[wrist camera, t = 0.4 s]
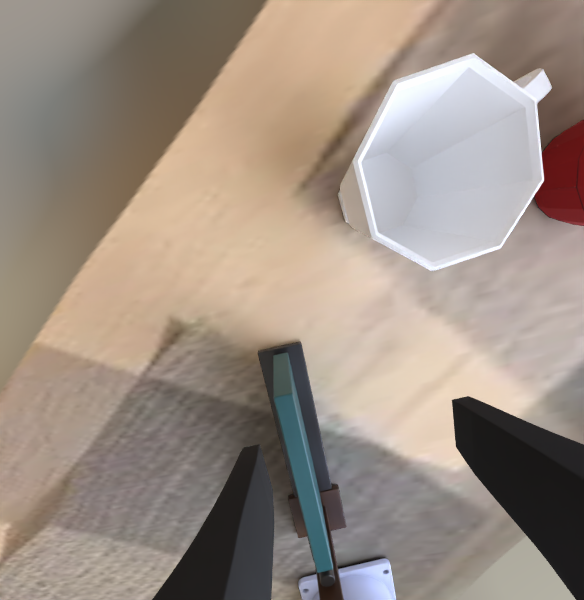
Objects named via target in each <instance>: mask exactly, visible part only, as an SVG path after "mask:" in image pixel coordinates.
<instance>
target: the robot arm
mask: <svg viewBox="0 0 584 600" xmlns="http://www.w3.org/2000/svg"><path fill="white" fill-rule="evenodd" d="M452 405H453V417H454V429H455V440H456V447H457V449H458V450H459V452H460V453H461V455H462V456H463V458H464V459H465V461H466V462H467V464H468V465H469V467H470V468H471V469H472V471H473V472H474V474H475V475H476V476H477V478H478V479H479V480H480V481H481V482H482V484H483V485H484V486H485V487H486V488H487V489H488V491H489V492H490V493H491V494H492V495H493V497H494V498H495V499H496V500H497V501H498V502H499V504H500V505H501V506H502V507H503V508H504V509H505V511H506V512H507V513H508V514H509V515H510V516H511V518H512V519H513V520H514V521H515V522H516V523H517V525H518V526H519V527H520V528H521V529H522V531H523V532H524V533H525V534H526V535H527V536H528V538H529V539H530V540H531V541H532V542H533V543H534V545H535V546H536V547H537V548H538V550H539V551H540V552H541V553H542V555H543V556H544V557H545V558H546V559H547V561H548V562H549V564H550V565H551V566H552V567H553V569H554V570H555V572H556V573H557V574H558V576H559V577H560V578H561V580H562V581H563V582H564V584H565V585H566V587H567V588H568V589H569V591H570V592H571V593H572V595H573V596H574V597H575V599H576V600H584V445H583V444H581V443H578V442H575V441H573V440H570V439H568V438H565V437H563V436H560V435H557V434H555V433H553V432H550V431H548V430H545V429H543V428H540V427H538V426H536V425H533V424H531V423H529V422H526V421H524V420H522V419H519V418H517V417H515V416H513V415H510V414H508V413H506V412H504V411H501V410H499V409H497V408H495V407H492V406H490V405H488V404H486V403H483V402H481V401H479V400H476V399H474V398H471V397H469V396H467V397H463V398H459V399H454V400H452ZM273 542H274V506H273V490H272V486H271V482H270V479H269V475H268V472H267V468H266V465H265V461H264V457H263V454H262V450H261V447H260V444H259V445H254V446H250V447H246V448H243V449H242V451H241V453H240V455H239V457H238V459H237V461H236V463H235V466H234V468H233V470H232V472H231V474H230V476H229V478H228V480H227V482H226V484H225V486H224V488H223V490H222V492H221V493H220V495H219V497H218V499H217V501H216V503H215V505H214V507H213V508H212V510H211V512H210V514H209V515H208V517H207V519H206V520H205V522H204V524H203V526H202V527H201V529H200V531H199V532H198V534H197V536H196V537H195V539H194V540H193V542H192V544H191V545H190V547H189V548H188V550H187V551H186V553H185V554H184V556H183V557H182V559H181V560H180V562H179V563H178V565H177V566H176V568H175V569H174V571H173V572H172V573H171V575H170V576H169V577H168V579H167V580H166V582H165V583H164V584H163V586H162V587H161V588H160V590H159V591H158V593H157V594H156V595H155V597H154V598H153V599H152V600H271V589H272V566H273ZM338 571H339V576H340V581H341V586H342V592H343V597H344V600H396V597H395V590H394V584H393V578H392V572H391V566H390V563H389V561H388V560H387V559H379V560H375V561H371V562H366V563H362V564H358V565H353V566H349V567H345V568H341V569H338ZM298 585H299V590H300V594H301V597H302V600H320V598H319V590H318V582H317V575H316V574H315V575H311V576H307V577H303V578H301V579H300V580H299V581H298Z"/></svg>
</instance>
